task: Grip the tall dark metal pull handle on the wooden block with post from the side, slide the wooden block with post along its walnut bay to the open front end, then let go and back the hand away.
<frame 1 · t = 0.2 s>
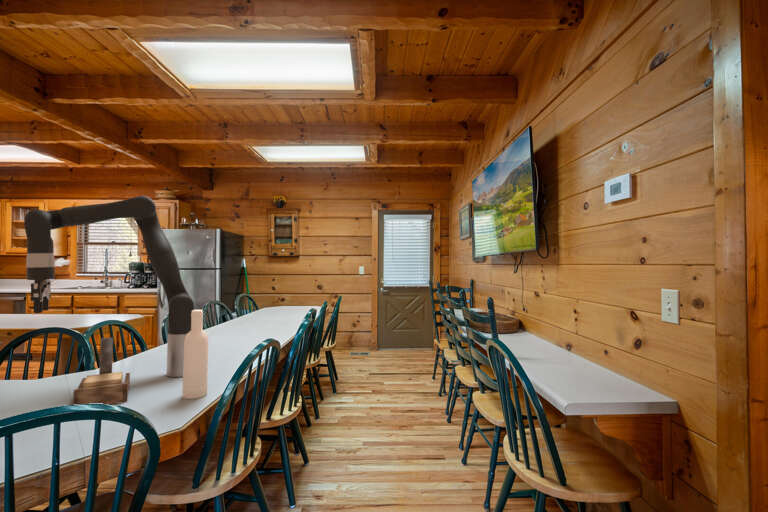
hand: (41, 311, 134), 28 cm above the table, tool pointing down, fingers open, 8 cm apart
wooden block with post: (104, 367, 130), point 10 cm above the table, slide at 0.0 cm
bottle: (194, 395, 133), on the table
bay: (104, 396, 131), on the table
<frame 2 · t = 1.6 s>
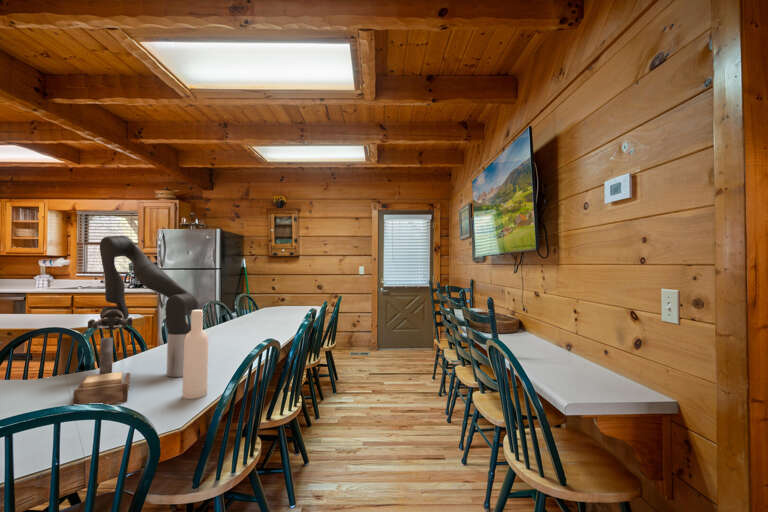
hand: (109, 325, 144), 22 cm above the table, tool horizontal, fingers open, 8 cm apart
nothing on the table moved.
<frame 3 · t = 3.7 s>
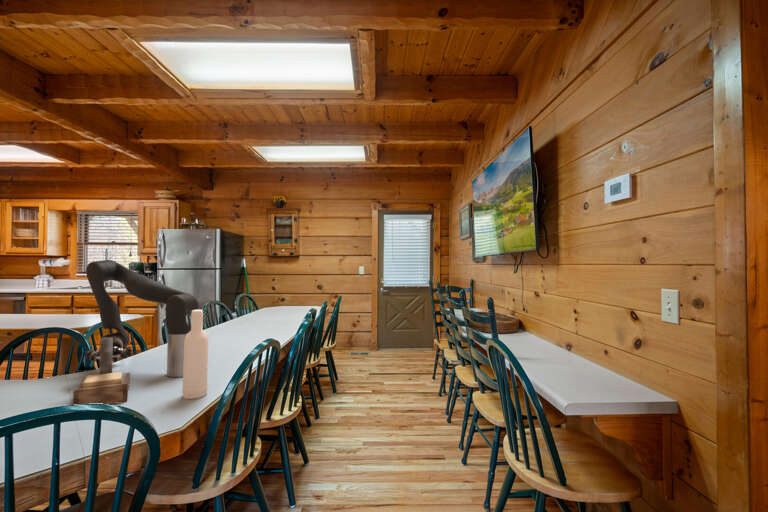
hand: (107, 357, 140), 11 cm above the table, tool horizontal, fingers open, 8 cm apart
nothing on the table moved.
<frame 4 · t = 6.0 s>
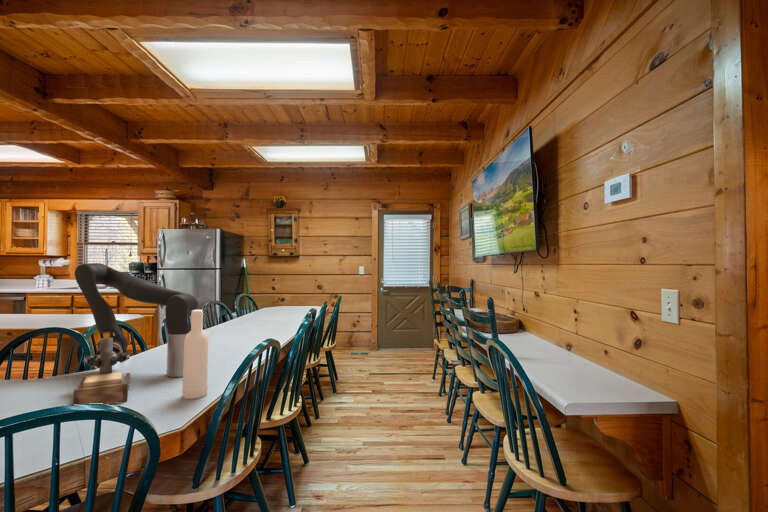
hand: (105, 363, 132), 11 cm above the table, tool horizontal, fingers closed on wooden block with post, 3 cm apart
wooden block with post: (104, 367, 130), point 10 cm above the table, slide at 0.0 cm, touching gripper
everything else where it was.
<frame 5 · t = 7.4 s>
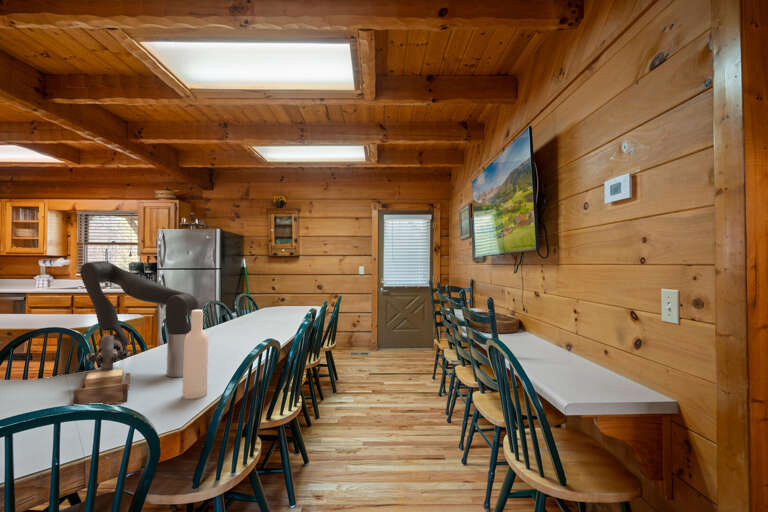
hand: (106, 360, 135), 11 cm above the table, tool horizontal, fingers closed on wooden block with post, 3 cm apart
wooden block with post: (105, 364, 134), point 10 cm above the table, slide at 4.4 cm, touching gripper
everything else where it was.
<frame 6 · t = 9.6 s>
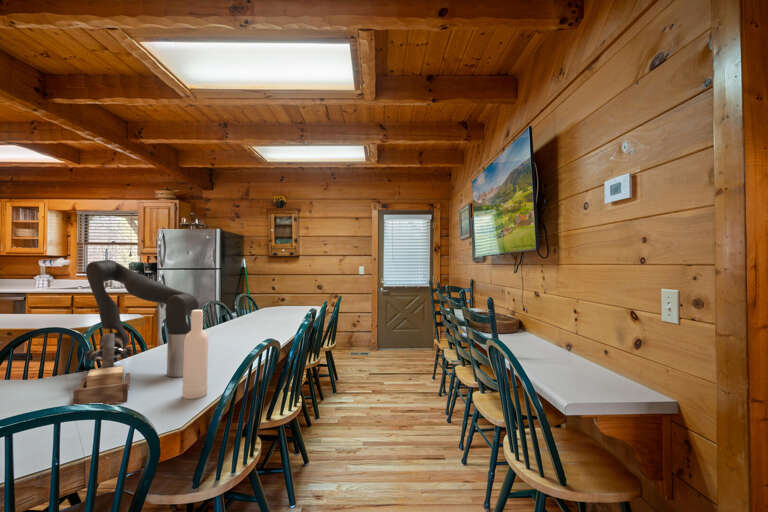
hand: (107, 357, 140), 11 cm above the table, tool horizontal, fingers open, 8 cm apart
wooden block with post: (106, 361, 137), point 10 cm above the table, slide at 8.4 cm
everything else where it was.
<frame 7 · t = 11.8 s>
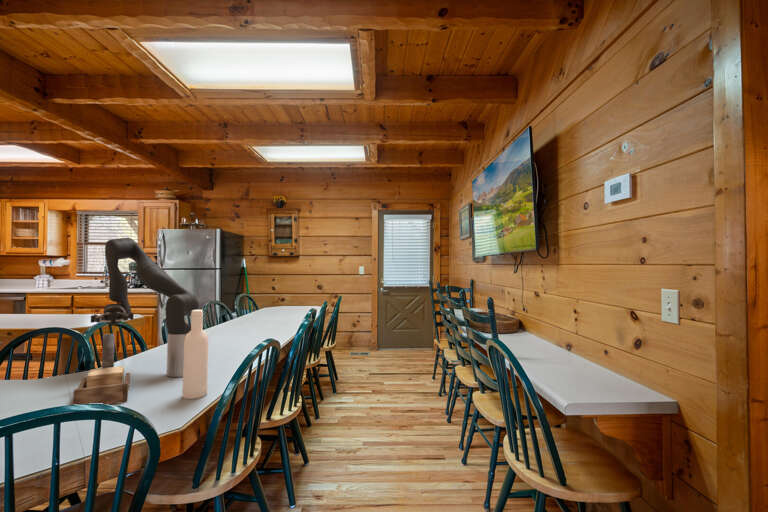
hand: (111, 319, 149), 24 cm above the table, tool horizontal, fingers open, 8 cm apart
nothing on the table moved.
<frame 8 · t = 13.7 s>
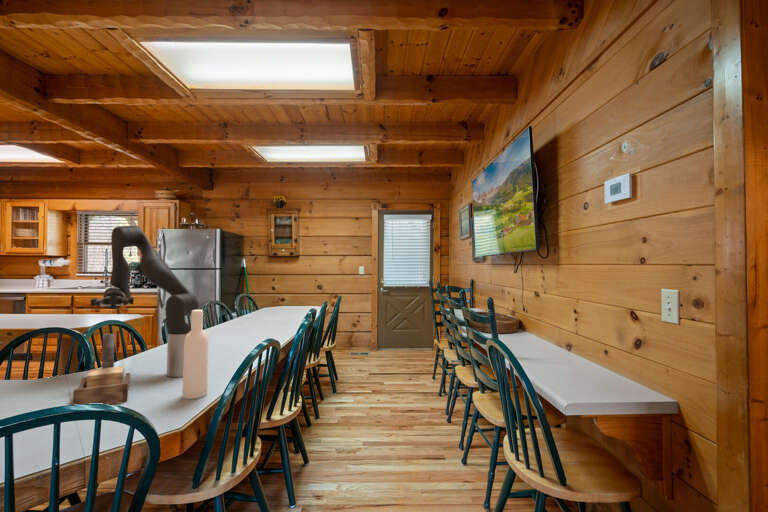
hand: (111, 303, 149), 30 cm above the table, tool horizontal, fingers open, 8 cm apart
nothing on the table moved.
at the end: wooden block with post slide at 8.4 cm; the gripper is holding nothing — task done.
